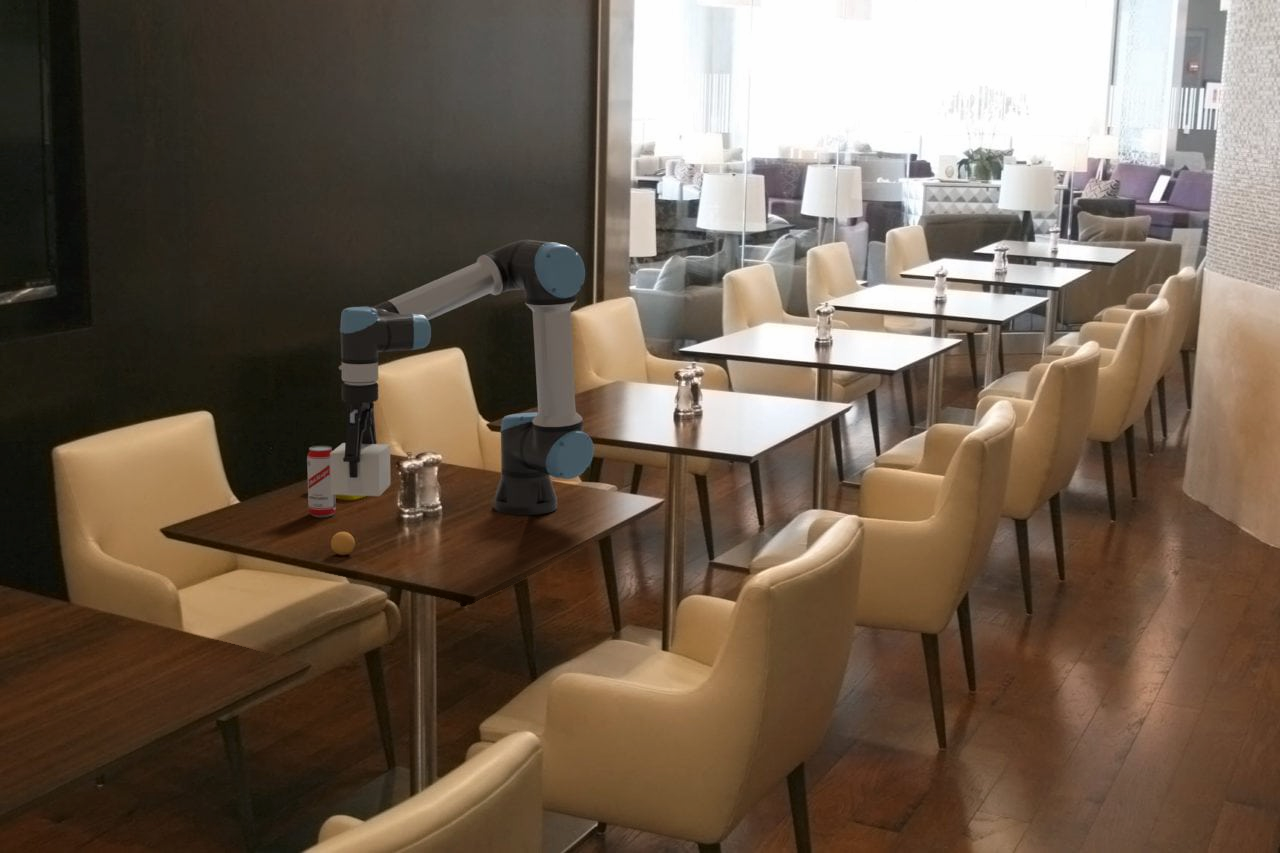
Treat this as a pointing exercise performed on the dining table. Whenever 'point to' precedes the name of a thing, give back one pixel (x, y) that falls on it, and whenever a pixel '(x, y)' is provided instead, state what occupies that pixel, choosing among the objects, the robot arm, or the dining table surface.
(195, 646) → the dining table surface
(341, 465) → the white cube
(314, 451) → the beer can
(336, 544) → the ball
